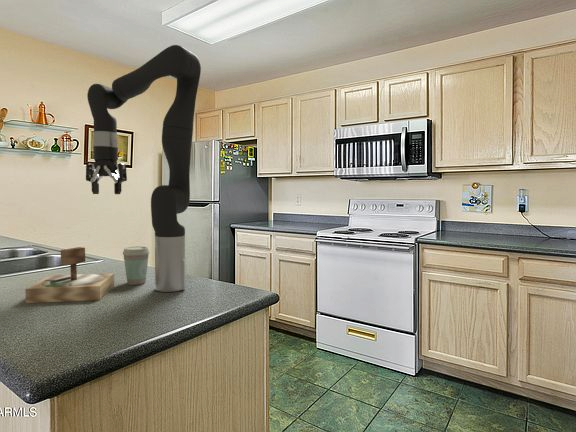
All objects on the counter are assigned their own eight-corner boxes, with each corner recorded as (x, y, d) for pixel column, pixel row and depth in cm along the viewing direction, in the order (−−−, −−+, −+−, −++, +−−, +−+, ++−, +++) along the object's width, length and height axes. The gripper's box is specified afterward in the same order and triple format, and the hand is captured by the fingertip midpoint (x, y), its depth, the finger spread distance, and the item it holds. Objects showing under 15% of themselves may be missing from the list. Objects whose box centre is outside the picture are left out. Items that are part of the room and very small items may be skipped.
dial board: (114, 285, 124) (114, 272, 124) (100, 299, 107) (99, 284, 107) (50, 287, 120) (50, 274, 120) (25, 303, 103) (25, 287, 103)
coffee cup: (140, 286, 123) (140, 250, 122) (117, 284, 124) (116, 249, 124) (154, 280, 131) (154, 246, 130) (133, 279, 133) (132, 245, 132)
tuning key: (79, 276, 117) (79, 247, 116) (85, 277, 116) (85, 247, 115) (47, 284, 107) (46, 252, 106) (53, 285, 106) (52, 252, 105)
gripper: (131, 147, 129) (131, 194, 130) (95, 147, 132) (96, 193, 133) (116, 144, 121) (117, 194, 122) (79, 145, 125) (80, 193, 126)
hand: (106, 194), depth 128 cm, fingers open, 8 cm apart
